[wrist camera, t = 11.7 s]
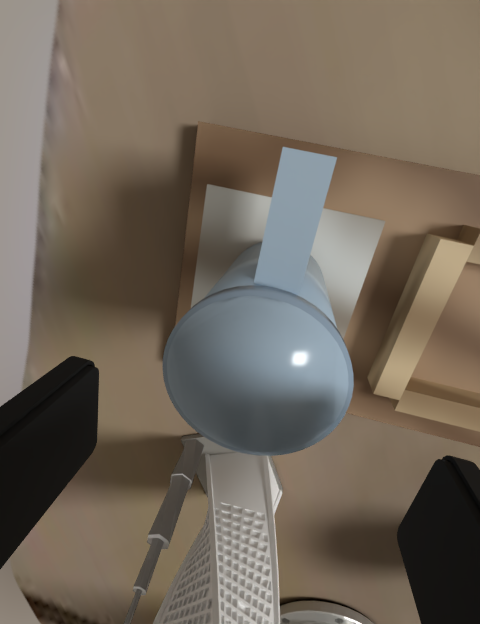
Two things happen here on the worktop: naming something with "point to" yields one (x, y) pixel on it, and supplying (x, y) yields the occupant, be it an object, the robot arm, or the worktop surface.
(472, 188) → the board
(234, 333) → the blue cylinder with tab
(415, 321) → the cradle
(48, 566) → the worktop surface
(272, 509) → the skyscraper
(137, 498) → the worktop surface
